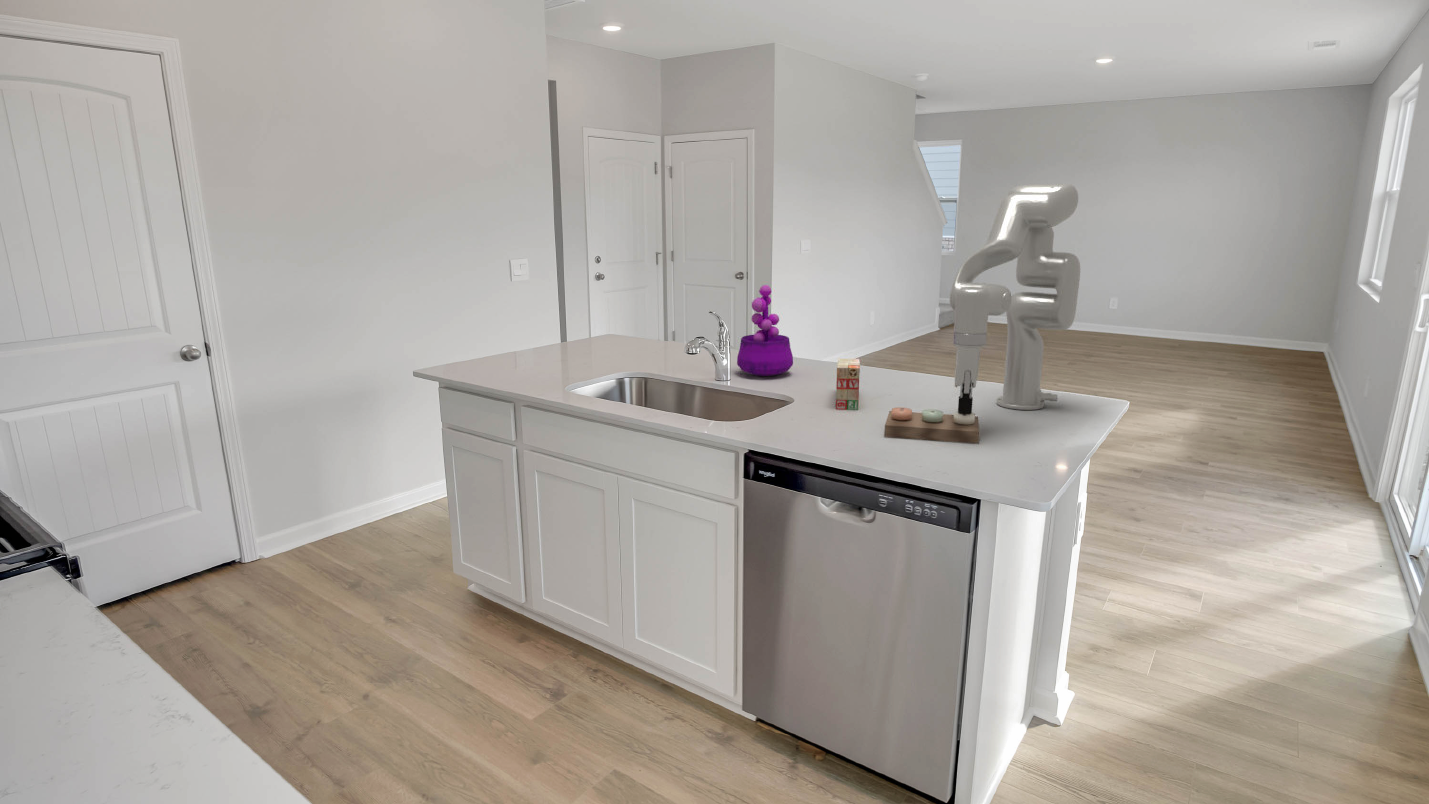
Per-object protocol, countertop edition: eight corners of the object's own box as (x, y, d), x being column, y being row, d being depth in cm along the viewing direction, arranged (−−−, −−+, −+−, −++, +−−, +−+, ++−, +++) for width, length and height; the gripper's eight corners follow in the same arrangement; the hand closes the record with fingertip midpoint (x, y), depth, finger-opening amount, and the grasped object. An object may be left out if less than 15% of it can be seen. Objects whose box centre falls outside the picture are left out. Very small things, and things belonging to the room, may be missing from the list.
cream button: (974, 419, 194) (974, 411, 193) (974, 425, 189) (975, 416, 188) (953, 418, 195) (953, 410, 194) (953, 423, 190) (953, 415, 190)
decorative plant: (777, 382, 250) (778, 289, 243) (727, 377, 259) (726, 286, 252) (801, 371, 266) (803, 283, 259) (753, 366, 275) (753, 281, 268)
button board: (977, 427, 198) (978, 416, 198) (978, 443, 185) (979, 431, 185) (889, 421, 204) (889, 410, 204) (884, 436, 192) (884, 425, 191)
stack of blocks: (837, 392, 238) (838, 352, 235) (858, 392, 237) (859, 352, 234) (835, 409, 217) (836, 366, 214) (858, 410, 216) (859, 367, 213)
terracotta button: (912, 415, 198) (912, 407, 197) (911, 420, 193) (911, 412, 193) (892, 414, 199) (892, 406, 199) (890, 419, 195) (890, 411, 194)
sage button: (943, 417, 196) (943, 409, 195) (942, 423, 191) (943, 414, 191) (922, 416, 197) (922, 408, 197) (921, 421, 192) (921, 413, 192)
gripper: (953, 333, 195) (949, 404, 199) (953, 344, 181) (948, 420, 186) (985, 334, 193) (980, 406, 197) (987, 345, 179) (981, 422, 183)
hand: (964, 412), depth 191 cm, fingers closed
